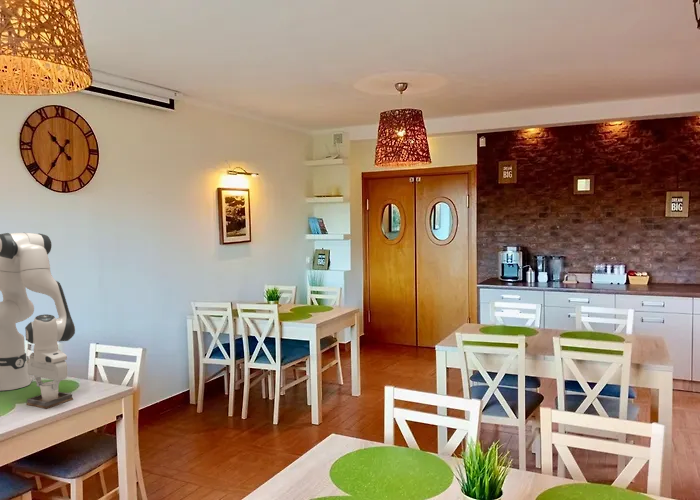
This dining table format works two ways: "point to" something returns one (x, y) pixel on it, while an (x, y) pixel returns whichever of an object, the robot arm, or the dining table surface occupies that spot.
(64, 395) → the tray
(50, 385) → the white cup
